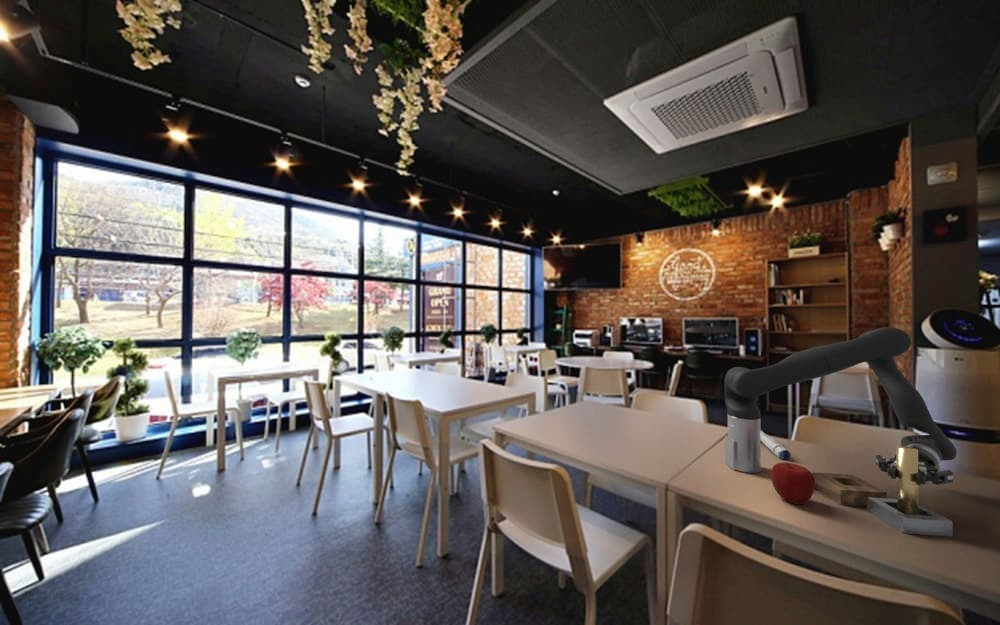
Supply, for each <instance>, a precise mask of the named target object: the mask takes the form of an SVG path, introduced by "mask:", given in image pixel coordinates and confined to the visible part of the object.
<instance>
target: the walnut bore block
mask: <svg viewBox="0 0 1000 625" xmlns="http://www.w3.org/2000/svg"><path fill="white" fill-rule="evenodd" d="M811 473H812V475H813V476H814V480H815V489H816V490H818V491H820V493H823V494H824V495H826V496H827V497H828V498H830V499H832V500H833V501H834V502H836V503H838V504H839V505H840V506H844V505H845V506H857V507H858V506H859V507H860V506H861V507H867V497H871V498H887V499H888V496H887V495H888V492H887V491H886V490H883V489H881V488H880V487H878V486H876V485H874V484H871V483H870V482H868V481H866V480H864V479H863V478H861V477H859V476H857V475H855V474H848V473H847V474H845V473H830V472H829V473H828V472H812V471H811Z"/></svg>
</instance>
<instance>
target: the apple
mask: <svg viewBox="0 0 1000 625" xmlns="http://www.w3.org/2000/svg"><path fill="white" fill-rule="evenodd" d="M770 477H771V478H770V479H771V482H772V486H773V488H774V489H775V491H776V493H777V495H779V497H781V498H782V499H783V500H785V501H787V502H789V503H791V504H795V505H804V504H806V503H807V502H809V500H810V499H812V496H813V494H814V491H815V489H816V488H815V480H814V476H813V475H812V471H810V470H809V469H808V468H806V467H804V466H802V465H799V464H795V463H792V462H778V463H775V464H774V465H773V467H772V468H771V471H770Z"/></svg>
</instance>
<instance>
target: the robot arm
mask: <svg viewBox="0 0 1000 625" xmlns="http://www.w3.org/2000/svg"><path fill="white" fill-rule="evenodd" d="M911 339H912V338H911V337H910V335H909V334H908V333H907V332H906V331H904V330H902V329H900V328H897V327H891V326H890V327H888V326H887V327H886V326H884V327H879V328H875V329H872V330H869V331H868V330H867V331H865V332H864V333H862V334H860V335H859V337H856V338H854V339H849V340H845V341H839V342H834V343H829V344H824V345H819V346H814V347H810V348H808V349H803V350H800V351H797V352H795V353H792V354H790V355H789V356H787V357H785V358H784V359H782V360H780V361H779V362H777V363H775V364H772V365H769V366H765V367H759V368H754V369H751V368H750V369H749V368H746V367H744V366H743V367H741V366H735V367H732V368H730V369H728V370H727V372H726V374H725V376H724V386H723V387H724V401H725V402H724V403H725V406H726V410H727V435H725V436H724V461H725V462H724V463H725V464H726V465H727V466H728V467H730V469H731V470H734V471H739V472H742V473H743V472H744V473H750V474H754V473H760V472H761V466H762V463H761V460H762V458H761V457H762V456H761V454H762V453H761V452H762V451H761V445H762V444H761V440H760V430H761V410H760V408H759V406H758V404H757V403H756V399H755V397H759V396H762V395H765V394H767V393H769V392H772V391H775V390H778V389H780V388H783V387H786V386H790V385H795V384H797V383H798V384H799V383H802V382H806V381H809V380H813V379H814V380H815V379H818V378H821V377H826V376H829V375H832V374H835V373H837V372H841V371H843V370H846V369H847V370H848V369H849V368H852V367H853V366H858V365H859V364H863V363H865V362H867V363H868V365H869V367H870V368H871V370H872V371H873V372H874V373H873V374H875V376H876V377H877V379H878V381H879V382H880V384H881V385H882V387H883V389H884V391H885V393H886V394H887V397H888V399H889V401H890V404H891V406H892V408H893V411H894V413H895V415H896V417H897V420H898V422H899V424H900V425H901V426H903V427H906V428H914V429H920V430H923V431H925V432H926V433H928V434H919V435H917V434H916V435H913V434H912V435H905V436H903V437H902V438H901V440H900V444H901V445H900V446H908V447H912V448H915V449H918V473H917V475H916V484H917V485H919V486H921V485H926V484H927V483H929V482H931V483H932V484H933V485H936V486H938V485H939V486H940V485H945V484H950V483H953V482H954V472H953V471H952V470H947V469H946V470H945V469H944V470H943V469H940V468H941V463H942V461H953V460H954V459H955V458H956V457H957V448H956V446H955V445H954V443H952V441H951V440H950V439H949V438H948V436H947V435H946V434H945V433H944V432H943V431H942V430H941V428H940V427H939V426H938V425H937V423H936V422H935V421H934V418H933V417H932V415H931V413H930V411H929V409H928V406H927V404H926V401H925V400H924V398H923V396H922V395H921V392H919V391H918V390H917V388H915V386H914V385H913V384H912V383H911V382H910V381H908V379H907V378H906V377H905V376H904V375H903V374H902V372H901V371H900V370H899V368H898V367H897V364H896V361H895V357H898V356H902V355H903V354H904V353H906V352H908V350H909V349H910V348H911V344H912V340H911ZM875 464H876V466H877V468H879V470H880V471H881V472H883V473H887V475H888V476H889V477H890V479H893V480H897V460H896V454H895V455H894V457H890V458H889V459H887V458H886V457H883V455H881V454H877V455H875Z"/></svg>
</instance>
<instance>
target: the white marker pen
mask: <svg viewBox="0 0 1000 625" xmlns="http://www.w3.org/2000/svg"><path fill="white" fill-rule="evenodd" d="M760 442H762V443H763V444H764V445H765V447H767V448H768V449H769V450H770V451H771V452H772V454H773V455H774V456H775V457H778V458H779V459H780V460H783V461H789V460H790V459H792V453H791V452H790V451H789V450H788V449H787V448H786V447H785V445H783V444H780V443H779V442H778V441H776V440H775V439H773V438H772V437H771V436H770V435H768V434H766V433H765V432H764V431H763V430H762V429H760Z"/></svg>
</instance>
